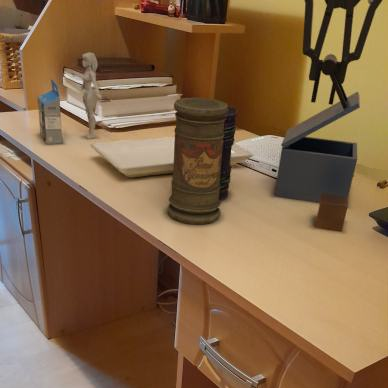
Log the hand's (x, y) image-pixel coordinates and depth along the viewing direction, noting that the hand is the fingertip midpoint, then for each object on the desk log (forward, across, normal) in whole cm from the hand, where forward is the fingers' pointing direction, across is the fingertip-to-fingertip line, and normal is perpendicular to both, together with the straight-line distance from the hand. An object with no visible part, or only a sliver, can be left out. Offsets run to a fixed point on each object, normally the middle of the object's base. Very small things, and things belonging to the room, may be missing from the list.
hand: (322, 101), depth 94 cm
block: (+16, -5, +16) cm, 24 cm away
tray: (+17, +29, -5) cm, 34 cm away
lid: (+3, -1, 0) cm, 3 cm away
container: (+17, +18, +21) cm, 32 cm away
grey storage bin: (+16, -1, 0) cm, 16 cm away
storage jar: (+17, +19, +10) cm, 27 cm away
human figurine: (+17, +53, -17) cm, 58 cm away
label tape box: (+17, +60, -11) cm, 64 cm away
